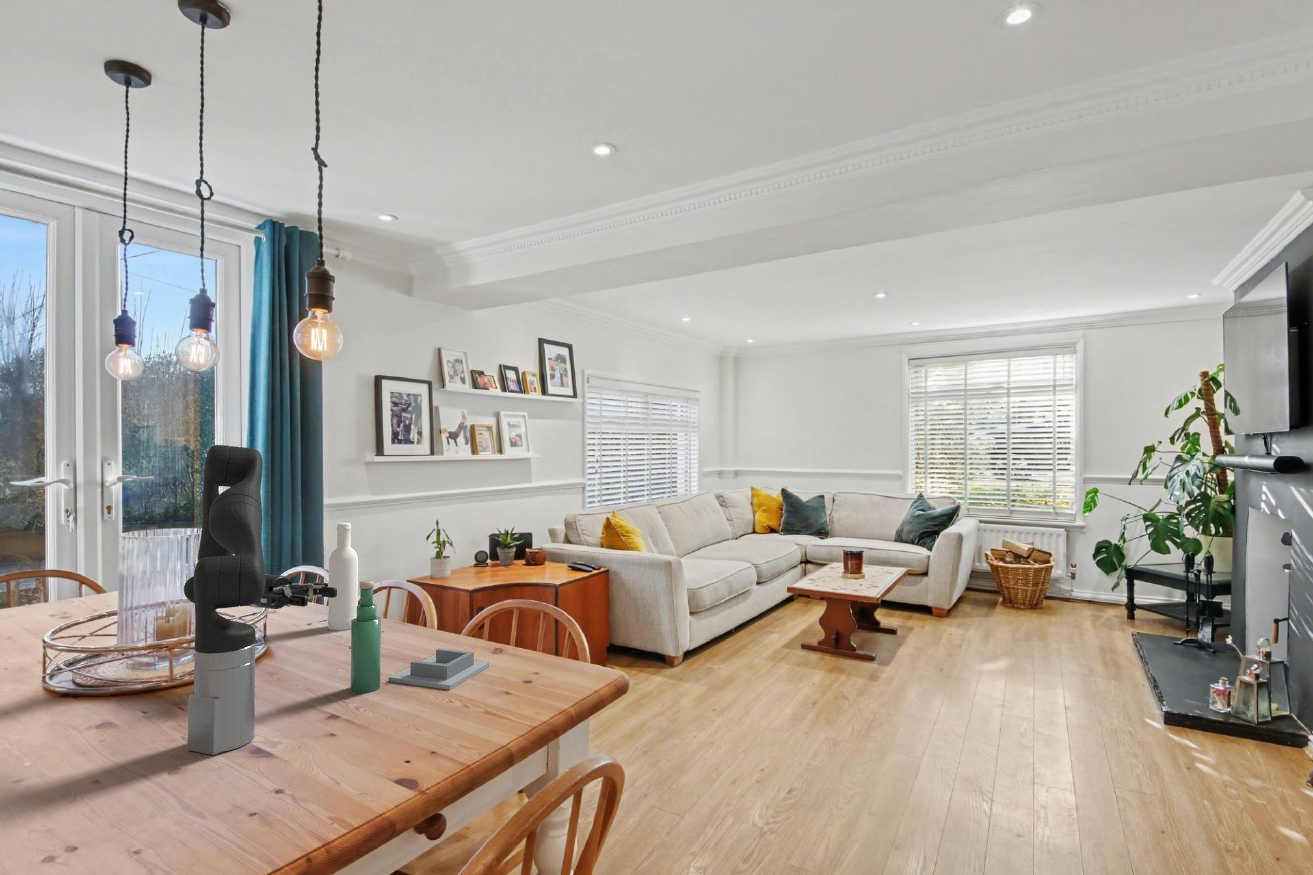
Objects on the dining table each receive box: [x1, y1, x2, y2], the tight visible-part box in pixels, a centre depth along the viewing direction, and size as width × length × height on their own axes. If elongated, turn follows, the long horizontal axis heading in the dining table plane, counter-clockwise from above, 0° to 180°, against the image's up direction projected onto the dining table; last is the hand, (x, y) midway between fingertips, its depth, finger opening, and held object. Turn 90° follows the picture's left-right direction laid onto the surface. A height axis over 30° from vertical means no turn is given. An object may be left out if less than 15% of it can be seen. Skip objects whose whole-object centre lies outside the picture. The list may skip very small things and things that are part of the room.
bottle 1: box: [327, 522, 359, 632], centre depth 197 cm, size 8×8×30 cm
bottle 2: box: [350, 580, 382, 694], centre depth 149 cm, size 6×6×23 cm
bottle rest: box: [388, 648, 490, 691], centre depth 159 cm, size 16×16×4 cm
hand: (321, 597), depth 153 cm, fingers open, 8 cm apart
